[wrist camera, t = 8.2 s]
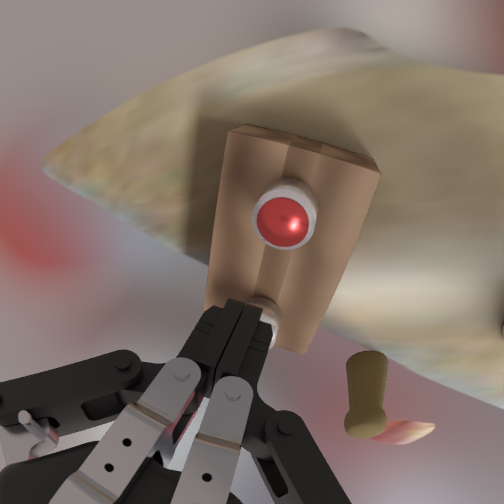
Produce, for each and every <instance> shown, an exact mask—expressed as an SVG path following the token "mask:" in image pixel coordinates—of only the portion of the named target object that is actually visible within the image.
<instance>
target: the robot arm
mask: <svg viewBox="0 0 504 504" xmlns="http://www.w3.org/2000/svg"><path fill="white" fill-rule="evenodd" d="M262 312H263V308H260V307H257V306H254V305H250V304H246V303H244V302H241V301H238V300H235V299H232V298H229V299H228V300H227V302H226V304H225V306H224V308H220V307H218V306H215V305H213V306H212V307H210V308H209V309H207V310H206V311H204V313H203V315H202V317H201V318H200V320H199V322H198V323H197V325H196V326H195V329H194V330H193V331H192V333H191V335H190V336H189V338H188V340H187V341H186V343H185V345H184V346H183V348H182V350H181V351H180V353H179V354H178V356H177V357H176V358H174V359H171V360H170V361H168V362H167V363H162V364H155V363H148V362H141V360H140V358H139V357H138V356H137V354H135V353H134V352H132V351H129V350H117V351H114V352H111V353H107V354H104V355H101V356H97V357H94V358H91V359H88V360H84V361H80V362H77V363H73V364H70V365H66V366H63V367H59V368H56V369H52V370H48V371H44V372H40V373H37V374H33V375H29V376H25V377H21V378H17V379H13V380H9V381H5V382H0V440H1V445H2V449H3V453H4V457H5V461H6V465H7V466H6V467H5V468H3V469H2V470H1V472H0V504H243V503H242V502H241V501H240V500H239V499H238V498H237V497H236V496H235V495H234V494H232V493H231V492H230V488H231V484H232V480H233V477H234V473H235V470H236V466H237V462H238V458H239V455H240V450H241V447H243V448H244V449H246V450H247V451H249V452H250V453H251V455H252V458H253V460H254V462H255V464H256V466H257V468H258V470H259V472H260V475H261V477H262V479H263V481H264V483H265V485H266V487H267V489H268V491H269V493H270V495H271V497H272V499H273V501H274V503H275V504H351V502H350V500H349V499H348V497H347V496H346V494H345V492H344V490H343V489H342V487H341V485H340V484H339V482H338V480H337V479H336V477H335V475H334V474H333V472H332V470H331V469H330V467H329V465H328V463H327V462H326V460H325V458H324V457H323V455H322V453H321V451H320V450H319V448H318V446H317V445H316V443H315V441H314V439H313V437H312V436H311V434H310V432H309V430H308V429H307V427H306V425H305V423H304V421H303V420H302V419H301V417H300V416H298V415H297V414H295V413H294V412H291V411H286V410H283V411H276V410H274V409H273V408H271V407H270V406H268V405H267V404H266V403H264V402H263V401H262V399H261V398H260V397H259V395H258V392H257V383H258V380H259V377H260V374H261V371H262V368H263V365H264V362H265V359H266V356H267V353H268V350H269V347H270V343H271V340H272V337H273V330H272V325H271V324H269V323H266V322H263V321H260V319H261V316H262ZM502 335H503V338H504V324H503V328H502ZM204 397H207V398H209V399H210V400H209V403H208V406H207V408H206V411H205V414H204V417H203V420H202V423H201V426H200V428H199V431H198V433H197V434H196V436H195V438H194V441H193V443H192V446H191V449H190V452H189V454H188V457H187V460H186V463H185V465H184V468H183V471H182V472H180V471H175V470H169V469H166V468H167V466H168V465H169V463H170V461H171V460H172V458H173V455H174V452H175V449H176V447H177V445H178V443H179V442H180V440H181V438H182V437H183V435H184V433H185V432H186V430H187V428H188V427H189V425H190V423H191V422H192V420H193V418H194V417H195V415H196V413H197V411H198V408H199V406H200V404H201V402H202V400H203V398H204ZM114 420H115V422H114V423H113V424H112V425H111V427H110V428H109V429H108V431H107V432H106V433H105V435H104V436H103V437H102V439H101V440H100V441H92V442H88V443H84V444H81V445H78V446H75V447H72V448H69V449H66V450H62V451H59V452H56V453H52V454H49V455H45V453H47V452H50V451H52V450H54V449H55V448H56V447H57V444H58V442H59V437H61V436H64V435H68V434H71V433H75V432H79V431H82V430H86V429H89V428H92V427H96V426H99V425H102V424H105V423H108V422H111V421H114ZM44 455H45V456H44Z"/></svg>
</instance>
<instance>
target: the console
mask: <svg viewBox="0 0 504 504" xmlns="http://www.w3.org/2000/svg"><path fill="white" fill-rule="evenodd" d="M380 176H381V172H380V170H379V169H378V167H377V165H376V163H375V161H374V159H371V158H368V157H365V156H362V155H359V154H356V153H353V152H350V151H347V150H344V149H341V148H337V147H334V146H331V145H327V144H324V143H321V142H317V141H314V140H310V139H306V138H303V137H299V136H295V135H291V134H287V133H283V132H279V131H275V130H271V129H266V128H262V127H258V126H253V125H248V124H245V125H242V126H240V127H237V128H235V129H232V130H230V131H228V133H227V139H226V145H225V152H224V158H223V165H222V171H221V178H220V185H219V192H218V199H217V206H216V213H215V221H214V229H213V236H212V244H211V252H210V261H209V270H208V278H207V287H206V297H205V306H204V311H206V310H207V309H209V308H210V307H212V306H213V305H215V306H218V307H220V308H224V306H225V304H226V302H227V300H228V299H229V298H232V299H235V300H238V301H241V302H243V301H244V300H245V299H247V298H250V297H263V298H266V299H269V300H271V301H272V302H274V303H275V304H276V305H277V306H278V307H279V309H280V310H281V313H282V320H281V324H280V327H279V331H278V334H277V337H276V341H275V344H274V346H276V347H279V348H282V349H286V350H290V351H292V352H296V353H300V354H303V355H305V353H306V351H307V349H308V347H309V345H310V343H311V341H312V339H313V337H314V335H315V333H316V331H317V329H318V327H319V325H320V323H321V321H322V319H323V317H324V315H325V312H326V310H327V308H328V306H329V304H330V302H331V299H332V297H333V295H334V293H335V291H336V288H337V286H338V284H339V282H340V279H341V277H342V275H343V272H344V270H345V268H346V265H347V263H348V261H349V258H350V256H351V253H352V251H353V248H354V246H355V243H356V241H357V238H358V236H359V233H360V231H361V228H362V226H363V223H364V220H365V218H366V215H367V213H368V210H369V207H370V204H371V202H372V199H373V196H374V193H375V190H376V188H377V185H378V182H379V179H380ZM283 178H294V179H298V180H301V181H303V182H305V183H306V184H307V185H309V186H310V187H311V188H312V190H313V191H314V193H315V194H316V197H317V200H318V212H317V218H316V224H315V229H314V232H313V235H312V236H311V238H310V239H309V240H308V241H307V242H306V243H305V244H304V245H302V246H301V247H298V248H296V249H291V250H281V249H276V248H274V247H271V246H269V245H268V244H266V243H265V242H263V241H262V240H261V239H260V238H259V236H258V235H257V234H256V232H255V230H254V227H253V224H252V213H253V209H254V207H255V205H256V203H257V202H258V201H259V199H260V198H261V196H262V195H263V193H264V192H265V191H266V189H267V188H268V187H269V186H270V185H271V184H272V183H273V182H275V181H277V180H279V179H283Z"/></svg>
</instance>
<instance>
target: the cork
mask: <svg viewBox="0 0 504 504" xmlns="http://www.w3.org/2000/svg"><path fill="white" fill-rule="evenodd" d="M387 369H388V359H387V357H386V356H385V355H384V354H382V353H380V352H377V351H363V352H359V353H356V354H354V355H352V356H351V357H350V358H349V359H348V361H347V363H346V370H347V380H348V392H349V405H350V410H349V412H348V413H347V414H346V417H345V421H344V427H345V430H346V432H347V433H348V434H349V435H350V436H352V437H355V438H371V437H374V436H376V435H378V434H380V433H381V432H382V431H383V430H384V428H385V425H386V421H387V420H386V419H387V417H386V414H385V411H384V410H383V409H382V407H383V400H384V393H385V386H386V378H387Z"/></svg>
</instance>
